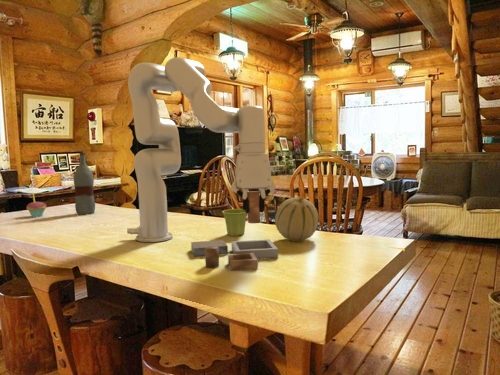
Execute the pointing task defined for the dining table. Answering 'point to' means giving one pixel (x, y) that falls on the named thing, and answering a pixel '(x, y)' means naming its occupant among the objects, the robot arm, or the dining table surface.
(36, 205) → the cupcake
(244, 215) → the plant pot
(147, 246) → the dining table surface
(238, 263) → the socket block
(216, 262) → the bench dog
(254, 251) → the tray
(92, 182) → the bottle
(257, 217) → the dowel
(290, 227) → the cantaloupe
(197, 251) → the grey rectangular block
